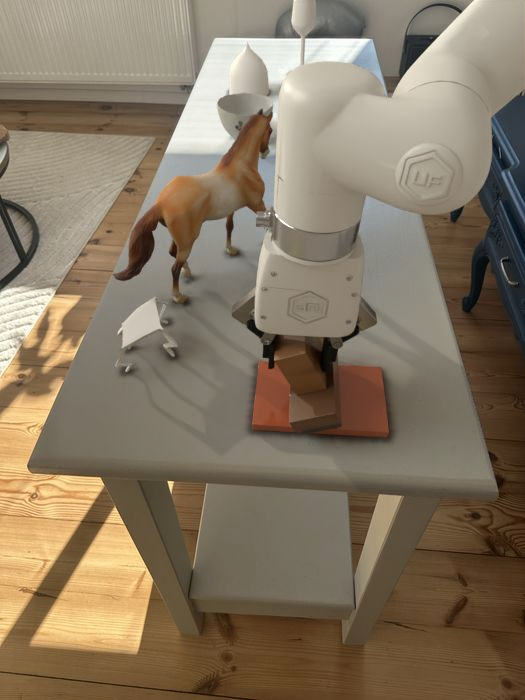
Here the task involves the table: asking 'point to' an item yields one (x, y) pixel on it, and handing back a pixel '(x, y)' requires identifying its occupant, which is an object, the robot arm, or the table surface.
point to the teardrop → (248, 74)
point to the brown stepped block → (309, 383)
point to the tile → (355, 399)
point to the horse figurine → (203, 202)
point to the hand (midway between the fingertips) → (298, 360)
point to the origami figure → (143, 328)
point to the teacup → (241, 110)
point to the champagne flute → (303, 21)
